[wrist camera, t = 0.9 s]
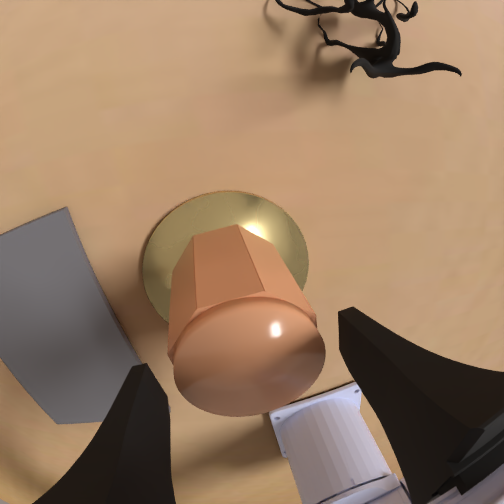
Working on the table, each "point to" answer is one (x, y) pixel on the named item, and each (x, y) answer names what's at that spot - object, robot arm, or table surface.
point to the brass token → (211, 218)
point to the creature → (372, 58)
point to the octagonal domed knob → (240, 326)
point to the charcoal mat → (59, 322)
